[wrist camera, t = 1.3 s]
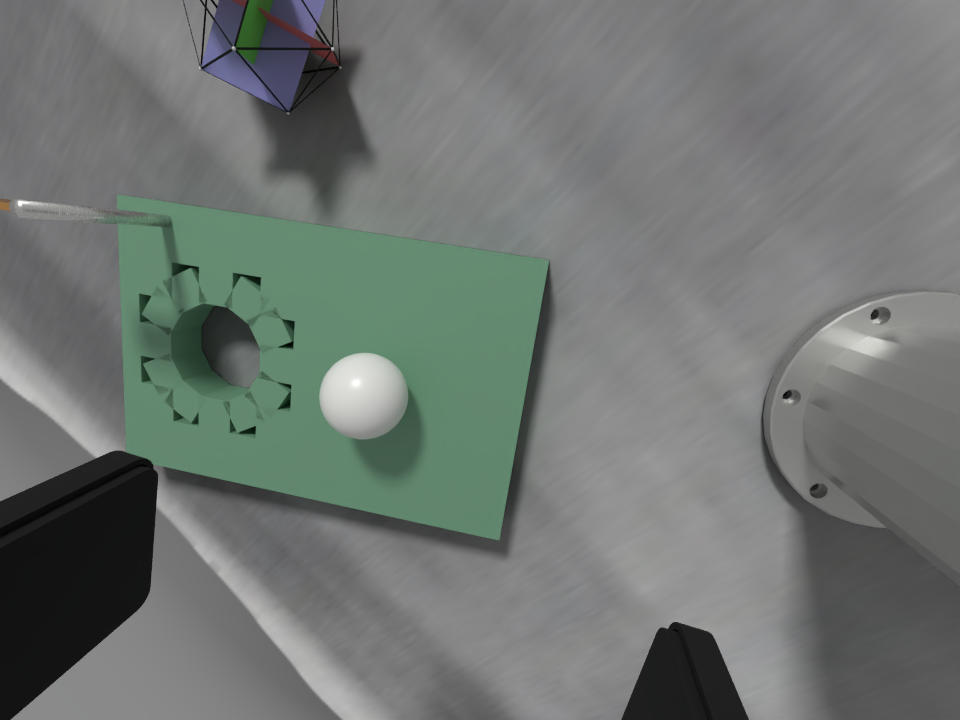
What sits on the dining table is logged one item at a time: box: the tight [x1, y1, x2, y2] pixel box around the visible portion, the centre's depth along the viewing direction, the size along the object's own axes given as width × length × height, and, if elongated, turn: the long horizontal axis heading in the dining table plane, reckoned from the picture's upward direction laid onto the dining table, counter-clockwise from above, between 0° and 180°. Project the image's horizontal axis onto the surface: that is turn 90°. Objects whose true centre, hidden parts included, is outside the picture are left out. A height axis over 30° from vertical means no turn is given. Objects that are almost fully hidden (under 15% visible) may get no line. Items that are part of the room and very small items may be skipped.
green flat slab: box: [117, 195, 549, 540], centre depth 28 cm, size 24×16×2 cm, turn 82°
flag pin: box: [0, 199, 172, 228], centre depth 24 cm, size 4×1×10 cm, turn 82°
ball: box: [319, 353, 408, 439], centre depth 24 cm, size 4×4×4 cm
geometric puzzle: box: [183, 0, 342, 115], centre depth 22 cm, size 7×7×8 cm
